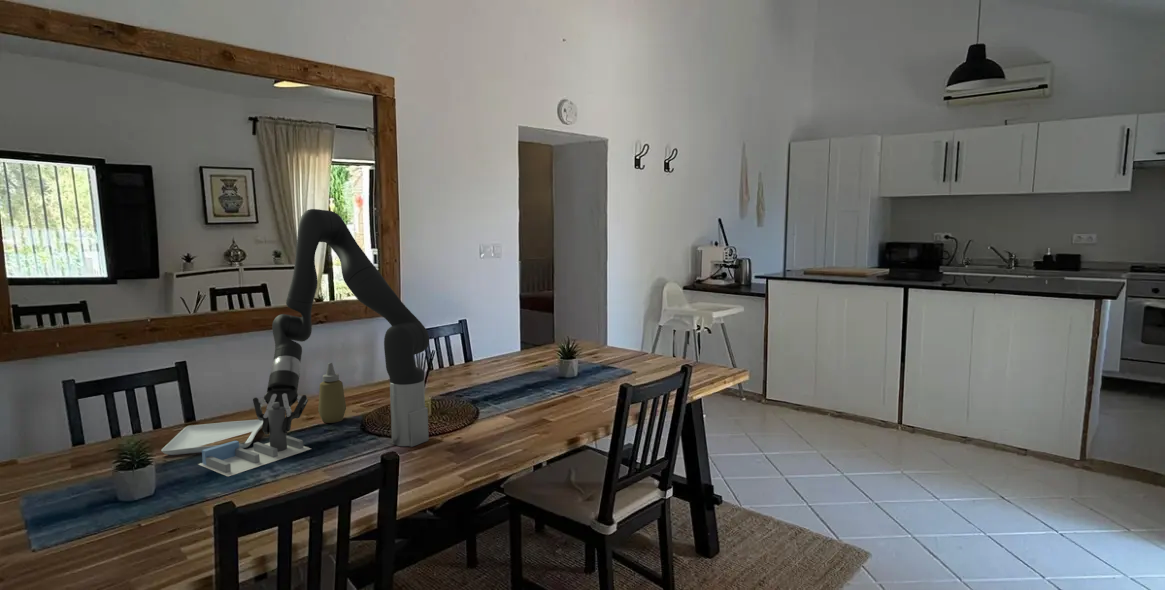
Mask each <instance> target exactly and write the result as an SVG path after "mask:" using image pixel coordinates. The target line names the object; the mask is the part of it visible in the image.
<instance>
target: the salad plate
mask: <svg viewBox="0 0 1165 590" xmlns="http://www.w3.org/2000/svg"><path fill="white" fill-rule="evenodd" d="M262 425H263V420H261V421H260V420H259V419H247V420H246V419H245V420H235V421H234V420H233V421H223V422H215V423H214V422H213V423H204V424H194V425H193V424H191V425H187V426H185V427H184V428H183V429H182V430H181V431H179V432H178V433H177V434H176V435H175V436H174V437H173V438H171V440H170V441H169V442H168V443H167V444H166V445H165V446H164V447H162V448H161V452H162V453H163V454H165V455H168V456H177V455H185V454H187V455H188V454H196V453H197V454H198V453H202V450H204V449H208V448H211V447H215V446H218V445H219V444H216V445H209V444H213V443H217V442H220V441H223V440H227V439H230V438H234V437H238V436H241V435H245V434H248V433H250V435H249V437H248V438H247V440H246V441H245V442H244V443H239V447H240V448H243V449H248V447H250V446H251V444H252V443H253V441H254V439H255V436H256V435H257V434H258V433H259V431H260V430H262Z"/></svg>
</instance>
